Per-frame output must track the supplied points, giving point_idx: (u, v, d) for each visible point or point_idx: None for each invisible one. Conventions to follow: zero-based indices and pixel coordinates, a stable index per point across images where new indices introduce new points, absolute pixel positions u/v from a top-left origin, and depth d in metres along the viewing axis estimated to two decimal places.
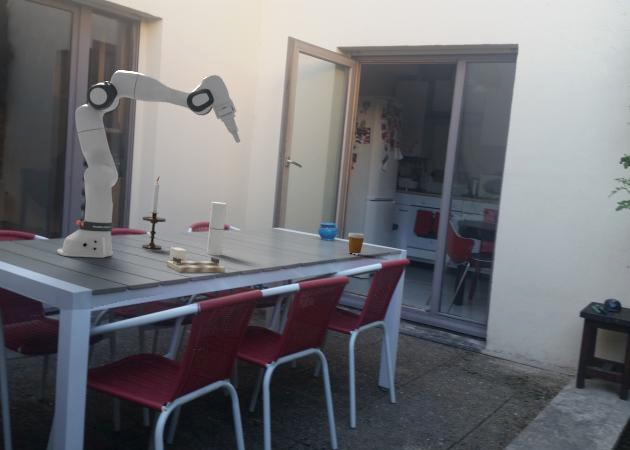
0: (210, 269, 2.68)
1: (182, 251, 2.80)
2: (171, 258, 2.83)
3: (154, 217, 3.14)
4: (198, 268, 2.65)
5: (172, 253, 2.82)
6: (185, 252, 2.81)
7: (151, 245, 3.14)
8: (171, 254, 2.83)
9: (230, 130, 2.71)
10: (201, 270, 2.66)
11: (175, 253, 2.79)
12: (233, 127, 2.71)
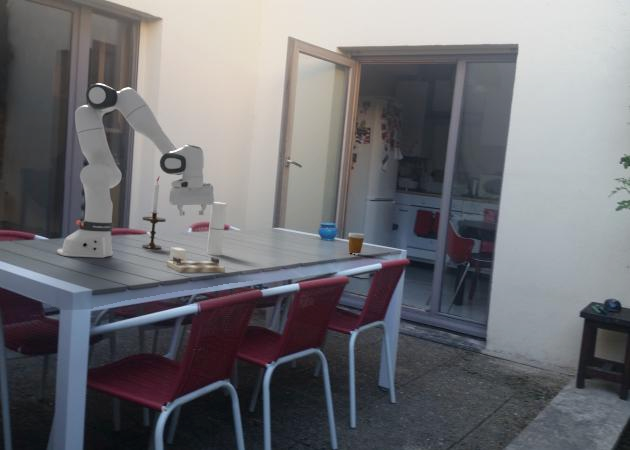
0: (210, 269, 2.68)
1: (182, 251, 2.80)
2: (171, 258, 2.83)
3: (154, 217, 3.14)
4: (198, 268, 2.65)
5: (172, 253, 2.82)
6: (185, 252, 2.81)
7: (151, 245, 3.14)
8: (171, 254, 2.83)
9: (170, 203, 2.76)
10: (201, 270, 2.66)
11: (175, 253, 2.79)
12: (172, 202, 2.75)
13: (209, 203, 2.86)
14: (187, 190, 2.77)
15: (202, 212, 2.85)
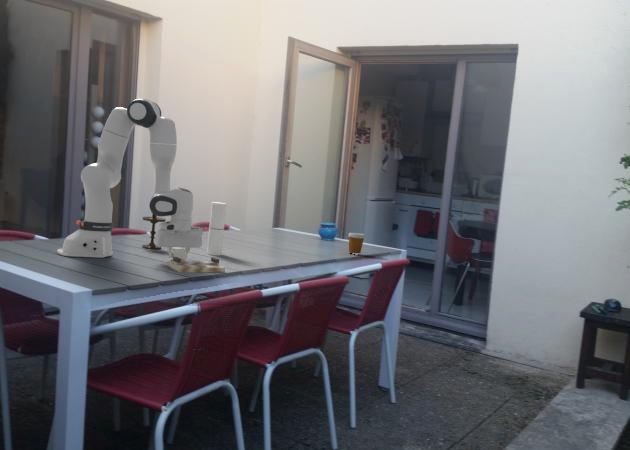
0: (210, 269, 2.68)
1: (182, 251, 2.80)
2: (171, 258, 2.83)
3: (154, 217, 3.14)
4: (198, 268, 2.65)
5: None
6: (185, 252, 2.81)
7: (151, 245, 3.14)
8: None
9: (156, 244, 2.78)
10: (201, 270, 2.66)
11: (175, 253, 2.79)
12: (157, 243, 2.76)
13: (197, 246, 2.86)
14: (173, 233, 2.78)
15: None
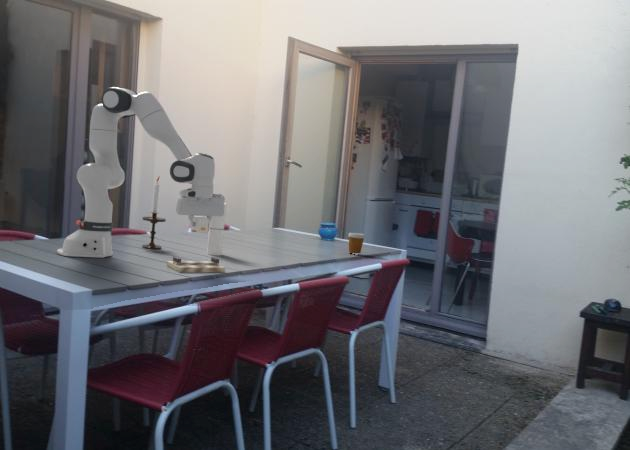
0: (210, 269, 2.68)
1: (204, 219, 2.68)
2: (192, 227, 2.71)
3: (154, 217, 3.14)
4: (198, 268, 2.65)
5: None
6: (207, 220, 2.69)
7: (151, 245, 3.14)
8: None
9: (177, 212, 2.66)
10: (201, 270, 2.66)
11: (197, 221, 2.67)
12: (178, 211, 2.64)
13: (219, 215, 2.74)
14: (195, 200, 2.66)
15: None
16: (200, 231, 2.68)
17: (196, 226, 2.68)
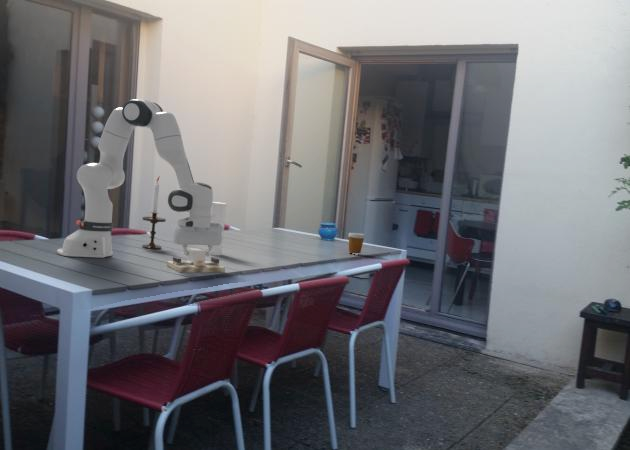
0: (210, 269, 2.68)
1: (201, 252, 2.69)
2: (189, 259, 2.72)
3: (154, 217, 3.14)
4: (198, 268, 2.65)
5: (190, 254, 2.71)
6: (204, 253, 2.69)
7: (151, 245, 3.14)
8: (189, 255, 2.72)
9: None
10: (201, 270, 2.66)
11: (194, 254, 2.68)
12: (175, 241, 2.65)
13: (216, 244, 2.74)
14: (192, 230, 2.66)
15: (207, 253, 2.73)
16: (197, 264, 2.68)
17: (193, 259, 2.69)
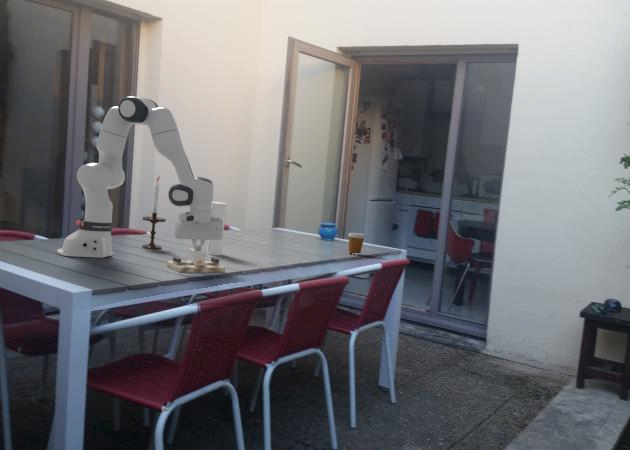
0: (210, 269, 2.68)
1: (201, 252, 2.69)
2: (189, 259, 2.72)
3: (154, 217, 3.14)
4: (198, 268, 2.65)
5: (190, 254, 2.71)
6: (204, 253, 2.69)
7: (151, 245, 3.14)
8: (189, 255, 2.72)
9: (175, 236, 2.66)
10: (201, 270, 2.66)
11: (194, 254, 2.68)
12: (176, 235, 2.65)
13: (217, 238, 2.74)
14: (193, 224, 2.66)
15: (200, 247, 2.71)
16: (197, 264, 2.68)
17: (193, 259, 2.69)
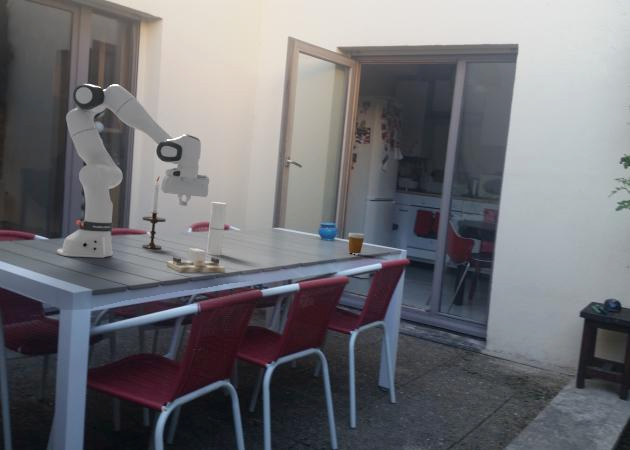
0: (210, 269, 2.68)
1: (201, 252, 2.69)
2: (189, 259, 2.72)
3: (154, 217, 3.14)
4: (198, 268, 2.65)
5: (190, 254, 2.71)
6: (204, 253, 2.69)
7: (151, 245, 3.14)
8: (189, 255, 2.72)
9: None
10: (201, 270, 2.66)
11: (194, 254, 2.68)
12: (162, 189, 2.74)
13: (202, 195, 2.83)
14: (179, 179, 2.76)
15: (185, 203, 2.80)
16: (197, 264, 2.68)
17: (193, 259, 2.69)
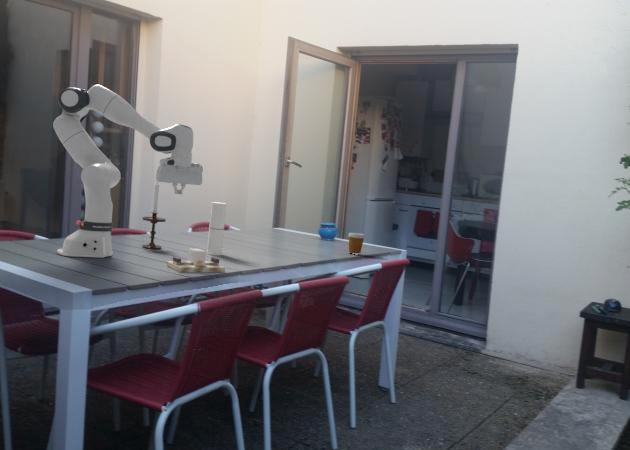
0: (210, 269, 2.68)
1: (201, 252, 2.69)
2: (189, 259, 2.72)
3: (154, 217, 3.14)
4: (198, 268, 2.65)
5: (190, 254, 2.71)
6: (204, 253, 2.69)
7: (151, 245, 3.14)
8: (189, 255, 2.72)
9: None
10: (201, 270, 2.66)
11: (194, 254, 2.68)
12: (157, 178, 2.79)
13: (197, 183, 2.88)
14: (174, 168, 2.81)
15: (180, 191, 2.85)
16: (197, 264, 2.68)
17: (193, 259, 2.69)
